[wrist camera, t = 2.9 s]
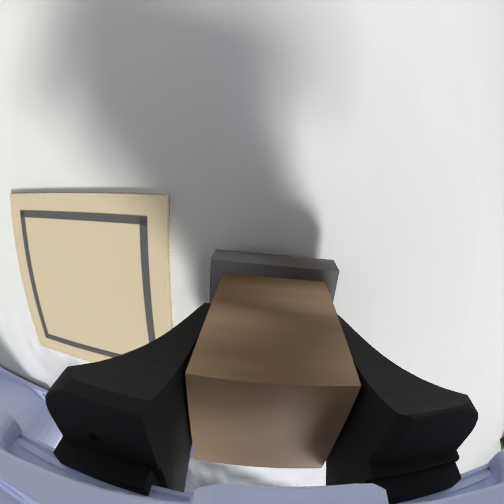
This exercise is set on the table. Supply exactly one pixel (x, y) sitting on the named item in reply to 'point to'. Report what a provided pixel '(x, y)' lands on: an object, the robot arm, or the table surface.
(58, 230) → the card
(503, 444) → the binders
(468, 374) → the table surface
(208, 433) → the stamp
